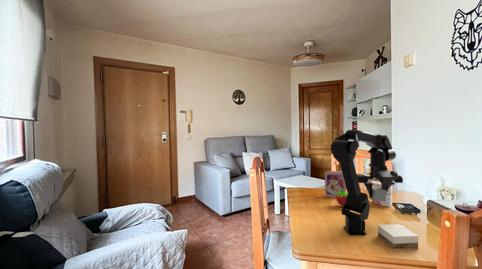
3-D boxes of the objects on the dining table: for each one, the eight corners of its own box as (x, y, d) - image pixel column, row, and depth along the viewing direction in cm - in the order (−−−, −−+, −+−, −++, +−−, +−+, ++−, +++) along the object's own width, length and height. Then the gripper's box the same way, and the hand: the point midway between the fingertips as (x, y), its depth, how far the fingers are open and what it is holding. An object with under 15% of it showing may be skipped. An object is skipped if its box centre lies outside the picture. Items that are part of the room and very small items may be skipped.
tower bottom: (391, 250, 82) (391, 243, 82) (377, 237, 91) (377, 231, 91) (418, 250, 81) (418, 243, 81) (401, 237, 90) (401, 231, 90)
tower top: (393, 243, 81) (393, 236, 81) (377, 231, 90) (377, 225, 90) (418, 242, 82) (418, 235, 81) (399, 230, 90) (400, 224, 90)
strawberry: (348, 210, 117) (348, 190, 117) (334, 206, 123) (334, 188, 122) (352, 206, 122) (352, 188, 121) (338, 203, 127) (338, 185, 126)
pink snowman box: (324, 196, 139) (324, 172, 138) (325, 193, 146) (325, 169, 145) (345, 198, 134) (345, 173, 134) (345, 195, 141) (345, 170, 140)
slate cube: (374, 201, 101) (374, 190, 101) (368, 197, 106) (368, 187, 106) (386, 201, 101) (386, 190, 100) (379, 197, 106) (380, 187, 105)
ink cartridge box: (372, 203, 126) (372, 176, 125) (374, 201, 130) (374, 175, 129) (390, 207, 120) (390, 179, 119) (392, 204, 124) (392, 177, 123)
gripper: (364, 166, 95) (364, 203, 96) (411, 165, 94) (411, 203, 95) (353, 161, 106) (352, 195, 107) (395, 161, 105) (394, 195, 106)
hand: (377, 197), depth 103 cm, fingers closed on slate cube, 5 cm apart
